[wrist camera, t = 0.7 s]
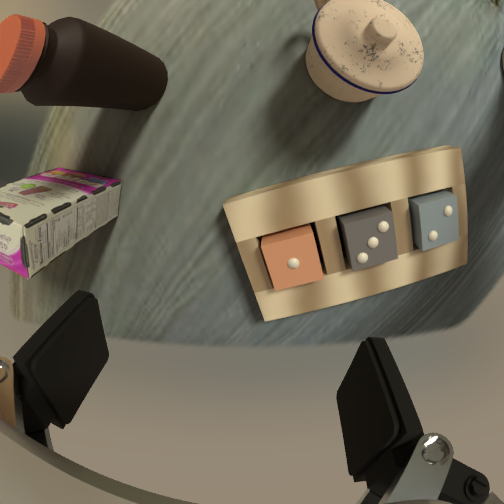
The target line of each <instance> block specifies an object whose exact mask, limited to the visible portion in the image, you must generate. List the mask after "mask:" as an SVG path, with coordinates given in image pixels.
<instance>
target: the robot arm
mask: <svg viewBox="0 0 504 504" xmlns="http://www.w3.org/2000/svg"><path fill="white" fill-rule="evenodd" d="M502 60H503V69H504V51H503V58H502ZM108 357H109V351H108V348H107V343H106V339H105V335H104V330H103V325H102V321H101V316H100V310H99V305H98V301H97V299H96V298H95V297H94V295H93V294H92V293H89V292H85V291H81V290H78V291H77V292H76V293H75V294H73V295H72V296H71V297H70V298H69V299H68V300H67V301H66V302H65V303H64V304H63V305H62V306H61V307H60V308H59V309H58V310H57V311H56V312H55V313H54V314H53V315H52V316H51V317H50V318H49V319H48V320H47V321H46V322H45V323H44V324H43V325H42V326H41V327H40V328H39V329H38V330H37V331H36V333H34V334H33V335H32V337H31V338H30V339H29V340H28V341H27V342H26V343H25V344H24V345H23V346H22V347H21V349H20V350H19V351H18V352H17V353H16V354H15V355H14V356H13V359H14V361H15V362H14V363H13V364H12V363H11V361H10V360H9V359H7V358H5V357H0V504H197V503H192V502H187V501H183V500H178V499H174V498H170V497H166V496H162V495H159V494H155V493H152V492H148V491H145V490H142V489H138V488H136V487H133V486H130V485H127V484H124V483H122V482H119V481H116V480H113V479H111V478H108V477H106V476H104V475H101V474H99V473H96V472H94V471H92V470H90V469H88V468H85V467H83V466H81V465H79V464H77V463H75V462H73V461H71V460H69V459H67V458H65V457H63V456H61V455H60V454H58V453H56V452H54V450H53V446H52V442H51V438H50V433H49V428H48V426H49V425H50V423H52V424H54V425H56V426H57V427H59V428H61V429H63V428H64V427H65V425H66V424H69V423H70V422H71V421H72V419H73V417H74V415H75V414H76V412H77V410H78V408H79V407H80V405H81V403H82V401H83V400H84V398H85V397H86V395H87V393H88V392H89V390H90V388H91V387H92V385H93V383H94V382H95V380H96V378H97V377H98V375H99V373H100V372H101V370H102V369H103V367H104V365H105V364H106V362H107V360H108ZM337 404H338V410H339V415H340V421H341V427H342V433H343V438H344V445H345V452H346V458H347V465H348V472H349V474H350V475H351V476H353V479H354V482H360V481H366V482H367V490H366V491H365V493H364V494H363V495H362V497H361V498H360V499H359V501H358V502H357V504H504V503H503V502H502V501H501V500H500V499H499V498H498V497H497V496H496V495H495V494H494V493H493V492H491V493H490V494H489V490H490V488H489V482H488V480H487V478H486V477H485V475H483V474H482V473H480V472H478V471H476V470H474V469H472V468H470V467H468V466H466V465H465V464H463V463H461V462H459V461H457V460H455V459H454V458H453V454H454V452H453V447H452V445H451V443H450V441H449V440H448V439H447V438H446V437H445V436H443V435H441V434H438V433H429V434H425V435H424V433H423V429H422V426H421V423H420V420H419V418H418V415H417V413H416V410H415V408H414V405H413V402H412V400H411V398H410V395H409V393H408V390H407V388H406V386H405V383H404V381H403V378H402V376H401V374H400V372H399V369H398V367H397V365H396V362H395V360H394V358H393V356H392V354H391V352H390V349H389V347H388V345H387V343H386V341H385V339H384V338H375V337H368V338H367V339H366V341H362V342H361V344H360V346H359V348H358V350H357V353H356V355H355V357H354V359H353V361H352V363H351V365H350V367H349V369H348V371H347V373H346V375H345V377H344V379H343V381H342V383H341V385H340V387H339V389H338V391H337Z"/></svg>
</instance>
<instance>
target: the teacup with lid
mask: <svg viewBox="0 0 504 504" xmlns="http://www.w3.org/2000/svg"><path fill="white" fill-rule="evenodd" d="M314 1H315V5H316V8H317V10H318V12H317V13H316V15H315V17H314V21H313V25H312V36H311V39H310V42H309V45H308V48H307V51H306V66H307V70H308V73H309V75H310V77H311V78H312V80H313V81H314V83H315V84H316V85H317V86H318V87H319V88H320V89H321V90H322V91H323V92H325V93H326V94H328V95H329V96H331V97H333V98H335V99H338V100H341V101H345V102H362V101H366V100H368V99H371V98H374V97H376V96H379V95H382V94H392V93H397V92H400V91H402V90H404V89H406V88H408V87H409V86H410V85H412V84H413V83H414V82H415V80H416V79H417V77H418V76H419V74H420V72H421V69H422V66H423V59H424V56H423V47H422V43H421V40H420V37H419V35H418V33H417V31H416V29H415V28H414V26H413V25H412V23H411V22H410V21H409V20H408V19H407V18H406V17H405V16H404V15H403V14H402V13H401V12H400V11H399V10H398V9H396V8H395V7H393V6H392V5H390V4H389V3H387V2H385V1H383V0H328V2H327V0H314Z"/></svg>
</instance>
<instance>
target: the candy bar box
mask: <svg viewBox="0 0 504 504" xmlns="http://www.w3.org/2000/svg"><path fill="white" fill-rule="evenodd" d="M121 185H122V181H121V180H117V179H112V178H107V177H103V176H98V175H93V174H88V173H84V172H79V171H74V170H69V169H64V168H59V167H58V168H56V169H53V170H49V171H46V172H42V173H39V174H36V175H33V176H30V177H27V178H24V179H21V180H18V181H16V182H13V183H10V184H7V185H4V186H2V187H0V264H1V265H3V266H4V267H6V268H8V269H10V270H12V271H14V272H15V273H17V274H19V275H21V276H23V277H24V278H26V279H30V278H31V277H33V276H34V275H35V274H36V273H38V272H39V271H40V270H42V269H43V268H44V267H45V266H47V265H48V264H49V263H51V262H52V261H53V260H55V259H56V258H57V257H59V256H60V255H62V254H63V253H65V252H66V251H67V250H68V249H70V248H71V247H73V246H74V245H75V244H77V243H78V242H80V241H81V240H83V239H84V238H86V237H87V236H89V235H90V234H92V233H93V232H95V231H96V230H98V229H99V228H101V227H102V226H104V225H105V224H107V223H108V222H110V221H112V220H113V219H115V218H116V217H118V212H119V200H120V193H121Z"/></svg>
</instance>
